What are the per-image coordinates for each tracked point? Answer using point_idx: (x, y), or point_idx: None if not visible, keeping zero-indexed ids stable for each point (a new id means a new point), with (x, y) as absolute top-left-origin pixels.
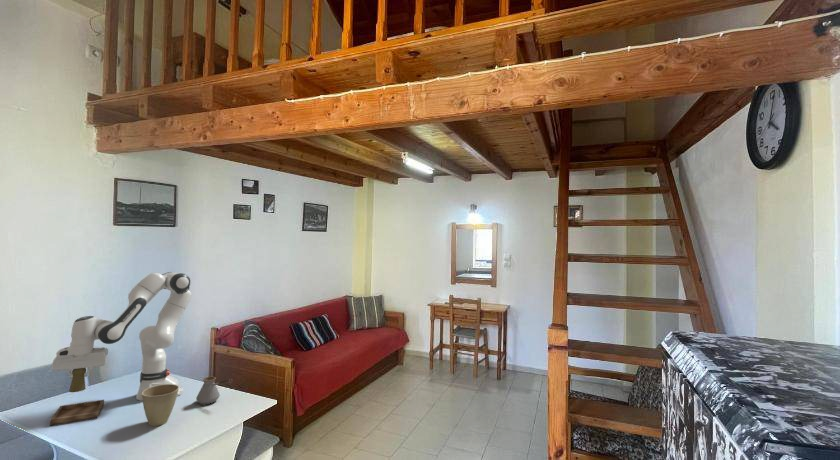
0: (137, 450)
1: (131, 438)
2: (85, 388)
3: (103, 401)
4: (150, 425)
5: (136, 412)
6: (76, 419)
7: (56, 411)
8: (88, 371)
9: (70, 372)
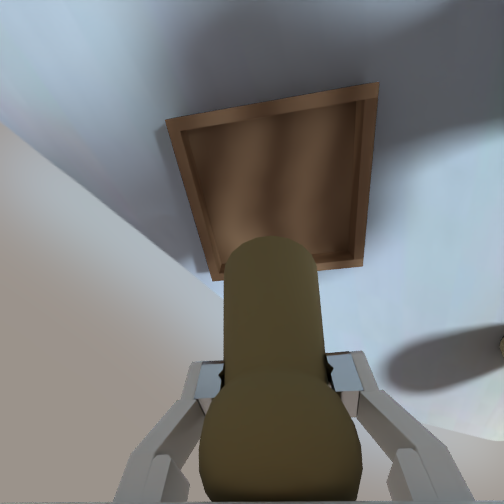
0: (442, 423)
1: (440, 387)
2: (316, 268)
3: (375, 105)
4: (500, 349)
5: (493, 242)
6: None
7: (189, 201)
8: (384, 441)
9: (182, 433)
